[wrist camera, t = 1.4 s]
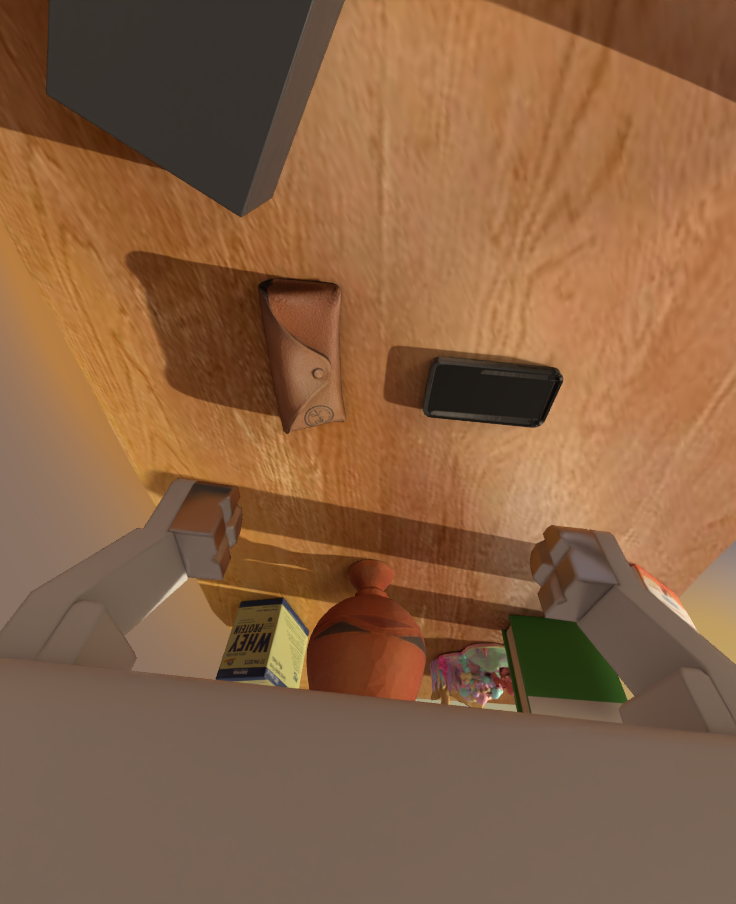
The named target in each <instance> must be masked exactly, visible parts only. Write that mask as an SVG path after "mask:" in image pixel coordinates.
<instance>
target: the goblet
mask: <svg viewBox="0 0 736 904" xmlns="http://www.w3.org/2000/svg"><path fill="white" fill-rule="evenodd" d="M393 578H394V572H393V570H392V569H391V568H390V566H388V565H387V564H385V563H383V562H380V561H377V560H362V561H359V562H357V563H355V564H353V565H352V566H351V568H350V570H349V579H350V581H351V583H352V584H353V585H354V586H355V587H356V588H357V590H358V592H357V593H356V594H355V596H354V597H351V598H348V599H346V600H343V601H341V602H339V603H338V604H336V605H335V606H333V607H332V608H331V609H330V610H329V611H328V612H327V613H326V614H325V615H324V616H323V617H322V618H321V619H320V620H319V622H318V623H317V625H316V627H315V628H314V630H313V632H312V635H311V637H310V640H309V644H308V648H307V660H306V661H307V675H308V682H309V689H310V690H316V691H325V692H335V693H344V694H353V695H363V696H372V697H381V698H391V699H400V700H409V701H415V699H416V696H417V693H418V691H419V688H420V685H421V681H422V677H423V673H424V668H425V662H426V648H425V642H424V638H423V635H422V633H421V631H420V628H419V627H418V625H417V624H416V622H415V621H414V619H413V618H412V616H411V615H410V614H409V613H408V612H407V611H406V610H405V609H404V608H403V607H402V606H400V605H399V604H398V603H396V602H395V601H393V600H391V599H389V598H387V597H388V596H387V594H386V593H385V592H384V590H385V589H386V588H387V587H388V586H389V585H390V583H391V582H392V580H393Z"/></svg>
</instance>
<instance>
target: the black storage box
mask: <svg viewBox="0 0 736 904" xmlns="http://www.w3.org/2000/svg"><path fill="white" fill-rule="evenodd" d="M344 1H345V0H49V19H48V51H47V83H46V94H47V95H48V96H50V97H51V98H53V99H55V100H56V101H58V102H59V103H61V104H63V105H64V106H66V107H67V108H69V109H70V110H72V111H74V112H75V113H77V114H78V115H80V116H82V117H83V118H85V119H86V120H88V121H89V122H91V123H93V124H94V125H96V126H97V127H99V128H100V129H102V130H104V131H105V132H107V133H108V134H110V135H112V136H113V137H115V138H116V139H118V140H119V141H121V142H123V143H124V144H126V145H127V146H129V147H130V148H132V149H134V150H135V151H137V152H138V153H140V154H142V155H143V156H145V157H146V158H148V159H149V160H151V161H153V162H154V163H156V164H157V165H159V166H160V167H162V168H164V169H165V170H167V171H168V172H170V173H172V174H173V175H175V176H176V177H178V178H179V179H181V180H183V181H184V182H186V183H187V184H189V185H190V186H192V187H194V188H195V189H197V190H198V191H200V192H202V193H203V194H205V195H206V196H208V197H209V198H211V199H213V200H214V201H216V202H217V203H219V204H221V205H222V206H224V207H225V208H227V209H228V210H230V211H232V212H233V213H235V214H236V215H238V216H239V217H242V216H244V215H246V214H248V213H249V212H251V211H252V210H254V209H255V208H257V207H258V206H260V205H261V204H263V203H265V202H266V201H268V200H269V199H271V198H272V196H273V193H274V191H275V188H276V185H277V183H278V180H279V177H280V174H281V172H282V169H283V166H284V164H285V161H286V158H287V155H288V153H289V150H290V147H291V145H292V142H293V139H294V136H295V134H296V131H297V128H298V126H299V123H300V120H301V117H302V115H303V112H304V109H305V107H306V104H307V101H308V99H309V96H310V93H311V90H312V88H313V85H314V82H315V80H316V77H317V74H318V71H319V69H320V66H321V63H322V61H323V58H324V55H325V52H326V50H327V47H328V44H329V42H330V39H331V36H332V33H333V31H334V28H335V25H336V23H337V20H338V17H339V14H340V12H341V9H342V6H343V4H344Z"/></svg>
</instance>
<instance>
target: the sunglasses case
mask: <svg viewBox="0 0 736 904" xmlns="http://www.w3.org/2000/svg"><path fill="white" fill-rule="evenodd" d="M258 292H259V298H260V305H261V313H262V319H263V326H264V333H265V338H266V344H267V350H268V356H269V361H270V367H271V372H272V378H273V384H274V389H275V395H276V400H277V405H278V410H279V414H280V418H281V421H282V426H283V430H284V432H285V433H286V434H289V432H292V431H296V430H300V429H305V428H308V427H313V426H317V425H321V424H325V423H330V422H344V421H346V415H345V410H344V404H343V397H342V385H341V368H340V339H339V335H340V333H339V321H340V302H341V288H340V287H339V286H337V285H336V284H334V283H327V282H319V281H307V280H294V279H279V278H274V279H269V280H266V281H263V282H261V283H260V284H259V286H258Z"/></svg>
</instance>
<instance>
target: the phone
mask: <svg viewBox="0 0 736 904" xmlns="http://www.w3.org/2000/svg"><path fill="white" fill-rule="evenodd" d="M562 383H563V376H562V374H561V373H560V371H559V370H558V369H557V368H553V367H543V366H533V365H523V364H513V363H503V362H493V361H483V360H473V359H463V358H453V357H443V356H442V357H437V358H435V359H434V360H433V361H432V362H431V365H430V370H429V375H428V380H427V385H426V390H425V395H424V400H423V412H424V414H425V415H426V416H428V417H431V418H441V419H451V420H461V421H471V422H481V423H491V424H502V425H512V426H522V427H532V428H534V427H538V426H540V425H542V424H543V423H544V421H545V419H546V417H547V415H548V413H549V411H550V409H551V406H552V404H553V402H554V400H555V398H556V396H557V393H558V391H559V389H560V387H561V385H562Z"/></svg>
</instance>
